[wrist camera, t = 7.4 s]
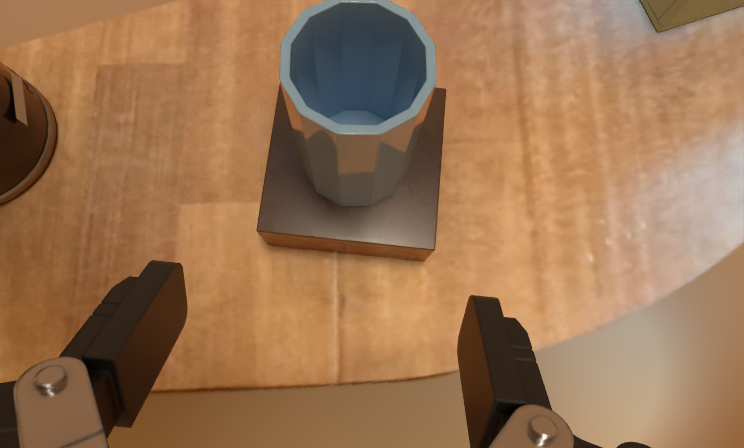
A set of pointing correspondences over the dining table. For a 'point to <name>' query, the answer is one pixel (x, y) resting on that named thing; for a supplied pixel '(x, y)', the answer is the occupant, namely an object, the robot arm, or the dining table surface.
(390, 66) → the cup
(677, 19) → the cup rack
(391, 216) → the brown square block
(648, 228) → the dining table surface
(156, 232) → the dining table surface
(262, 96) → the dining table surface
